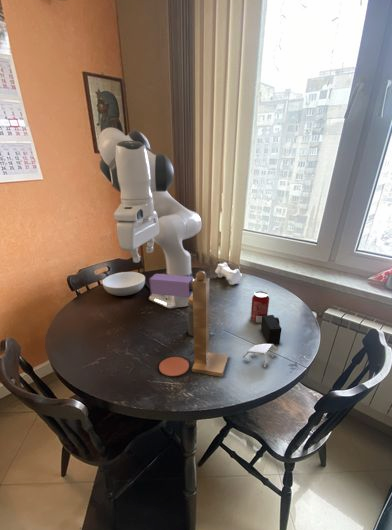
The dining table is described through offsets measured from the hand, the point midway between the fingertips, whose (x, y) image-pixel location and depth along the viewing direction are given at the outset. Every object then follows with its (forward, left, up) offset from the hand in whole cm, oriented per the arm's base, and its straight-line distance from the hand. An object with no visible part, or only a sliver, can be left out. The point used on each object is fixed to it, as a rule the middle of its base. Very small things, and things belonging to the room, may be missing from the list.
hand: (143, 257), depth 92 cm
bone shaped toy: (-4, +70, -34) cm, 78 cm away
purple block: (+11, -2, -8) cm, 14 cm away
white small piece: (+37, +12, -34) cm, 52 cm away
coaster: (+13, -6, -34) cm, 37 cm away
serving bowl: (-43, +32, -34) cm, 64 cm away
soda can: (+26, +37, -34) cm, 57 cm away
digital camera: (+35, +27, -34) cm, 56 cm away
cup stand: (+19, 0, -34) cm, 39 cm away
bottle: (+8, +16, -34) cm, 38 cm away
